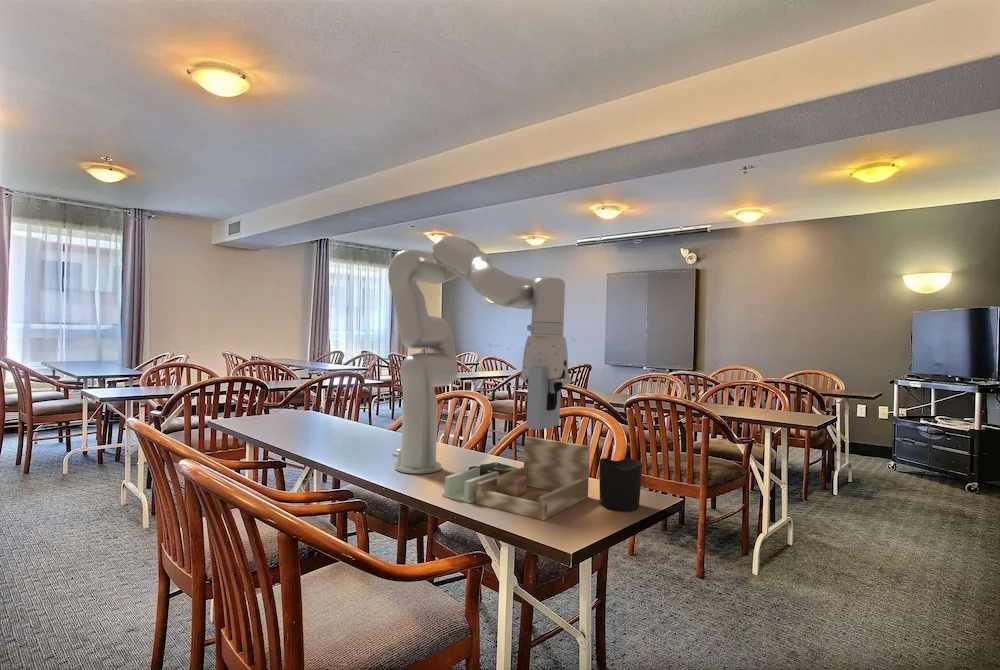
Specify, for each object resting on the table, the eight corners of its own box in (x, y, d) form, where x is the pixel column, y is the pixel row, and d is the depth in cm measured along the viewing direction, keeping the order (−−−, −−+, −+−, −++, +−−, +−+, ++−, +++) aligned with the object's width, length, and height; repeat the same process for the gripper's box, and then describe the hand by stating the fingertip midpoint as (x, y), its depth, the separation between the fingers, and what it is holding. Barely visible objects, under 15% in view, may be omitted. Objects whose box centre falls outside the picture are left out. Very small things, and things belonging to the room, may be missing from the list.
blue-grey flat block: (526, 428, 126) (528, 366, 126) (547, 423, 135) (549, 365, 135) (538, 430, 125) (541, 367, 124) (559, 424, 133) (561, 366, 133)
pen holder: (610, 497, 131) (612, 455, 131) (647, 506, 125) (649, 462, 125) (590, 505, 124) (591, 461, 124) (628, 515, 118) (630, 468, 118)
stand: (442, 496, 127) (443, 476, 127) (473, 485, 137) (474, 467, 137) (470, 503, 122) (471, 482, 122) (500, 491, 132) (501, 472, 132)
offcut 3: (519, 511, 119) (519, 497, 119) (529, 505, 123) (529, 491, 123) (540, 515, 117) (540, 501, 117) (549, 509, 121) (550, 495, 121)
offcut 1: (496, 491, 123) (497, 478, 123) (506, 486, 127) (506, 473, 127) (517, 495, 120) (517, 481, 120) (526, 490, 125) (526, 476, 125)
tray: (475, 503, 123) (477, 449, 123) (525, 483, 140) (527, 436, 140) (543, 520, 113) (545, 461, 113) (587, 496, 131) (589, 446, 131)
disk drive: (467, 477, 147) (507, 489, 136) (467, 467, 147) (507, 478, 136) (495, 471, 154) (535, 482, 143) (495, 461, 154) (535, 471, 144)
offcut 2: (495, 504, 123) (496, 491, 123) (507, 499, 127) (508, 486, 127) (514, 509, 120) (515, 495, 120) (526, 504, 124) (527, 490, 124)
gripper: (509, 329, 131) (505, 406, 131) (571, 331, 122) (568, 414, 122) (525, 329, 137) (522, 403, 137) (586, 332, 128) (582, 411, 128)
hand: (543, 408), depth 130 cm, fingers closed on blue-grey flat block, 3 cm apart
